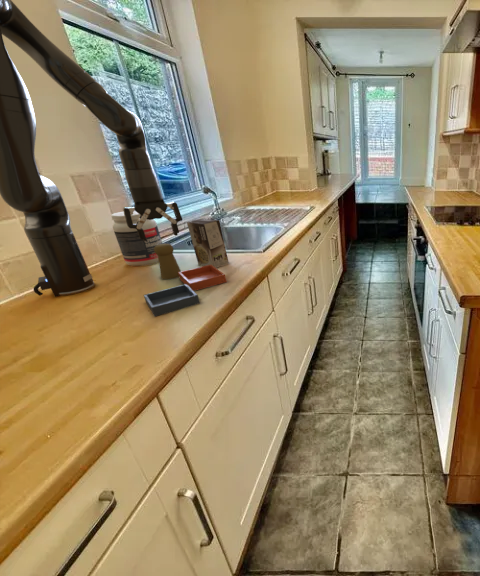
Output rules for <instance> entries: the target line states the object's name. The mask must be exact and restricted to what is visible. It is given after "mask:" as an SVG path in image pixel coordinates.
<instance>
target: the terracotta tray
mask: <svg viewBox="0 0 480 576" xmlns="http://www.w3.org/2000/svg"><path fill="white" fill-rule="evenodd" d="M178 274H179V277H178V278H179V280H180V281H181V282H182V283H183V285H184V284H187V285H188V286H189V287H190V288H191V289H192V290H193V291H194V292H195V291H198V290H202V289H206V288H210V287H213V286H217V285H221V284H224V283H227V282H228V281H227V277H226V274H225V273H224V272H223V271H221V270H220V269H218V268H215V267H214V266H213V265H207V266H199V267H195V268H189V269H186V270H181V272H178Z"/></svg>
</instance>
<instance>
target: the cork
mask: <svg viewBox="0 0 480 576" xmlns="http://www.w3.org/2000/svg"><path fill="white" fill-rule="evenodd" d="M154 251H155V253H156V254H157V255H158V259H159V262H158V266H159V271H160V279H162V280H171V279H172V280H173V279H177V278H179V274H178V272H181V271H182V270H181V267H180V266H179V264H178V262H177V259H176V257H175V255H174V247H173V245H172V244H171V243H168V242H167V243H162V244H159V245H156V246H155V247H154Z"/></svg>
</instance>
